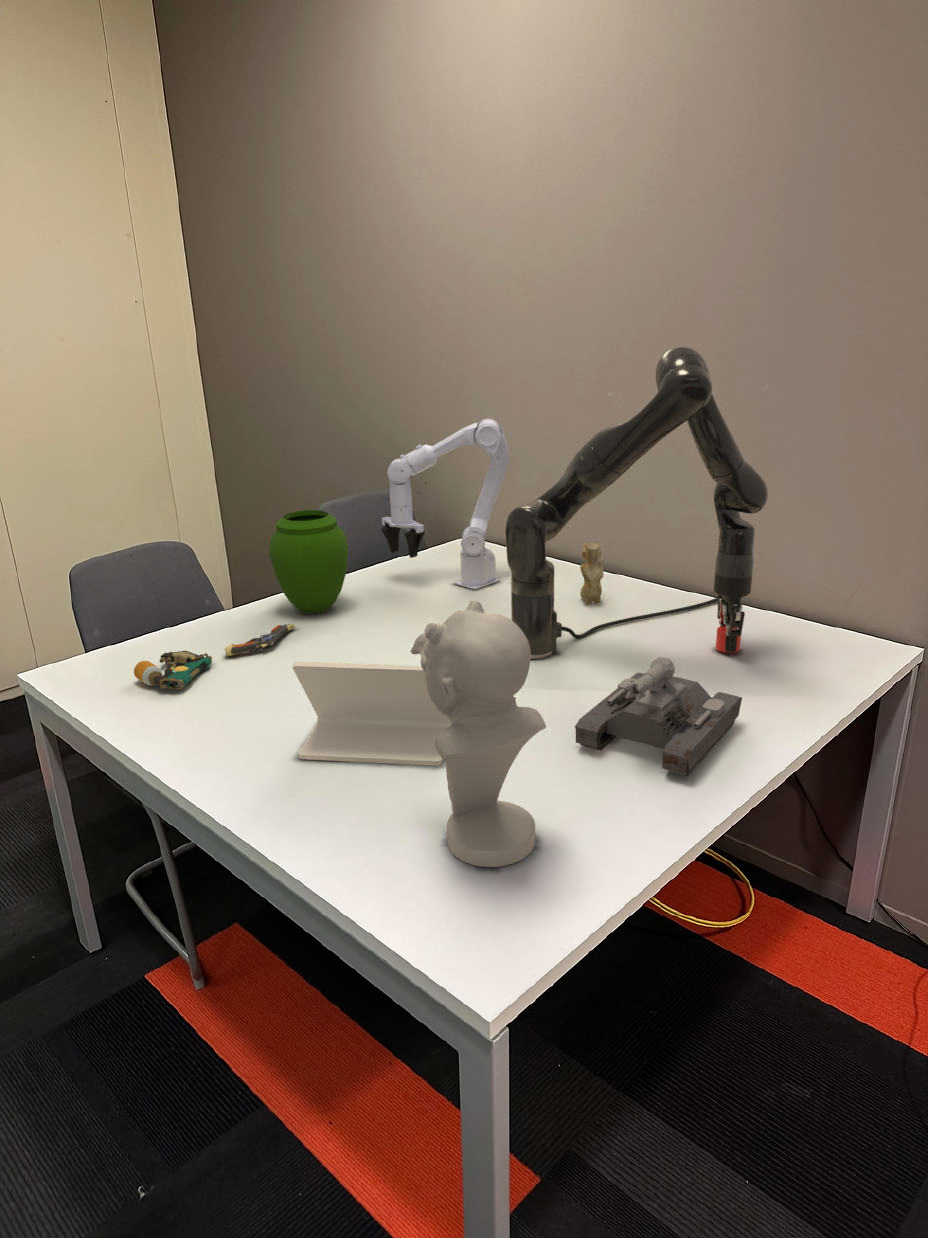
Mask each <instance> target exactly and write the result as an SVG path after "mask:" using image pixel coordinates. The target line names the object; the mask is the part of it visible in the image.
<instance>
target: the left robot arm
mask: <svg viewBox="0 0 928 1238" xmlns="http://www.w3.org/2000/svg"><path fill="white" fill-rule="evenodd" d="M476 443H477V444H478V446H480V447H481V449H483V450H484V451H485V452H486V454H487V456H488V457H489V460H490V463H489V466H488V468H487V472H486V475H485V478H484V481H483V483H482V486H481V489H480V493H479V495H478V499H477V502H476V504H475V507H474V511H473V513H472V516H471V518H470V520H469V523H468V524H467V526H466V527H464V529H463V531H462V534H461V536H462V537H461V541H460V547H461V549H460V553H459V555H460V579H459V580H457V581H454V585H457V586H461V587H464V588H468V589H471V590H478V589H481V588H483V587H486V586H489V585H492V584H495V583H497V582H499V579H497V575H496V574H497V573H496V572H497V569H496V557H495V554H494V552H493V551H492V550H491V549H490V548H486V546H485V545H486V543H485V540H486V532H487V529H488V526H489V521H490V519H491V516H492V513H493V510H494V507H495V504H496V501H497V498H498V495H499V493H500V490H501V487H502V484H503V481H504V478H505V476H506V473H507V470H508V467H509V464H510V462H511V461H510V460H511V455H510V451H509V447H508V444H507V441H506V436H505V433H504V430H503V429H502V427H501V426H500V424H499V423H498V422H497V421H496V420H495V419H494V418H490V417H489V418H484V419H482V420H480V421H479V422H474V423H472V424H469V425H467V426H465V427H463V428H461V429H459V430H458V431H456V432H454V433H453V434H451V435H449V436H447V437H446V438H444V439H443V440H441V441H439V442H437V443H436V444H434V445H430V444H423V445H422V444H418V445H416V447H415V449H414V450H412V451H410V452H409V453H406V454H401V455H399V457H400V458H396V459H394V460H392V462H391V463H390V464H389V466H388V468H387V478H388V479H389V481H388V482H389V504H390V516H383V517H381V525H382V526H383V527H381V532H382V534H383V535H384V537H385V539H386V541H387V544H388V547H389V551H390V553H392V554H394V553H396V552H399V549H400V547H399V546H400V533H401V530H407V531H406V532H403V533H404V534H403V535H404V537H405V540H406V543H407V548H408V556H409V558H411V559H412V558H416V557H418V553H419V548H420V545H421V542H422V540H423V537H424V535H425V530H424V524H423V523H419V522H417V521H416V520H414V517H413V497H412V487H411V478H410V477H411V476H417V475H418V474H420V473H422V472H424V471H426V470H428V469H429V468H431V467H433V466H435V465H436V464H437V461H438V458H440V457H442V456H444V455H445V454H448V453H449V452H451V451H454V450H456V449H458V448H460V447H462V446H464V445H467V446H473V447H475V446H476Z"/></svg>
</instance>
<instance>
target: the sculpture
mask: <svg viewBox="0 0 928 1238" xmlns="http://www.w3.org/2000/svg"><path fill="white" fill-rule="evenodd" d="M582 545H583V551H582V552H581V557H582V558H583V559H584V560H585V562H584V563H581V564H580V566H579V569H580V573H581V575H582V577H583V582H584V583H583V585H582V587H581V588H580V592H579V594H580V598H581V599H582V600H583V601H585V603H586V605H593V603H594V605H598V604H601V601H602V600H601V599H602V594H603V588H602V584H601V580H602V579H603V578H604V564H603V563H601V562H599V559H600V558H601V557H602V551H601V550H600V549H601V546H600V545H599V544H598V543H597V542H592V543H587V542H584V543H583V544H582Z"/></svg>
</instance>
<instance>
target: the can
mask: <svg viewBox="0 0 928 1238" xmlns="http://www.w3.org/2000/svg"><path fill="white" fill-rule="evenodd" d="M733 630H735V627H734V628H733ZM741 638H742V635H741V636H737V645H736V651H735V652H734V653H738V652H739V651H740V649H741ZM725 641H726V626H721V627H720V626H718V627H717V628H716V638H715V649H716V651H719V652H722V653H728V654H729V653H731V654H732V653H733V652H726V651H725Z"/></svg>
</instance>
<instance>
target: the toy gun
mask: <svg viewBox="0 0 928 1238" xmlns="http://www.w3.org/2000/svg"><path fill="white" fill-rule="evenodd" d="M295 628H296V626H295V623H287V624H286V623H284V624H278V625H276V626H275V627H273V628H271V630H270V633H265V634H264V633H263V634H261V635H260V636H259V637H254V638H251V639H250V640H248V641H246V642H244V643H240V644H235V643H231V644H228V645H227V646H226V647H225V648H224V651H225V655H226V656H227V657H229V656H236V655H238V654H243V653H248V652H251V651H254V650H258V649H261V648H265V647H269V646H273V645H274V643H276V642H277V641H278V640H279V639H280V638H281V637H282V636H284V634H286V633H287V632H290V630H292V629H295Z"/></svg>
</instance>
